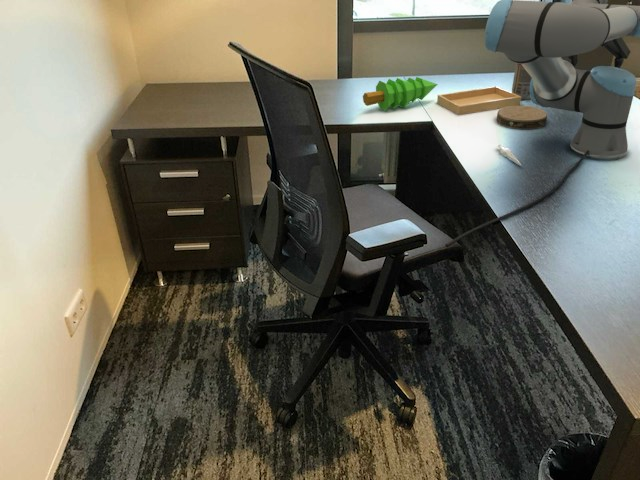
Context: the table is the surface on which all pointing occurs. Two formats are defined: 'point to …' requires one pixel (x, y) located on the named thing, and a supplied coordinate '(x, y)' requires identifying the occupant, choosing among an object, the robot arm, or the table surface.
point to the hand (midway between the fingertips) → (595, 68)
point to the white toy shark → (508, 154)
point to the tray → (478, 100)
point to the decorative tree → (398, 92)
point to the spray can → (521, 82)
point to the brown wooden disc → (521, 117)
